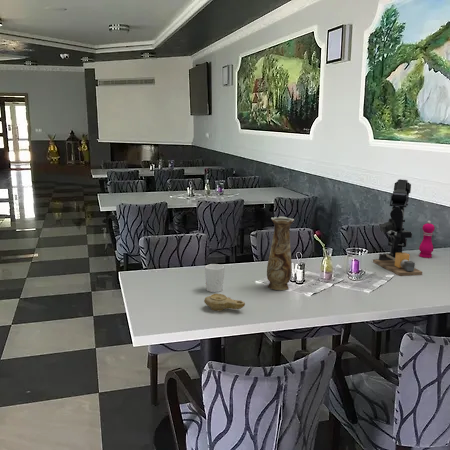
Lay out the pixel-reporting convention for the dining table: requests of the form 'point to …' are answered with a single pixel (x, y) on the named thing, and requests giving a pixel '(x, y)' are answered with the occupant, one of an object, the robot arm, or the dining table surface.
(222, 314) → the dining table surface
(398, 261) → the sleeve
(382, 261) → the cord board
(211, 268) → the white cup
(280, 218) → the vase
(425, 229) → the pepper mill
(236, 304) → the oil lamp
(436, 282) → the dining table surface
